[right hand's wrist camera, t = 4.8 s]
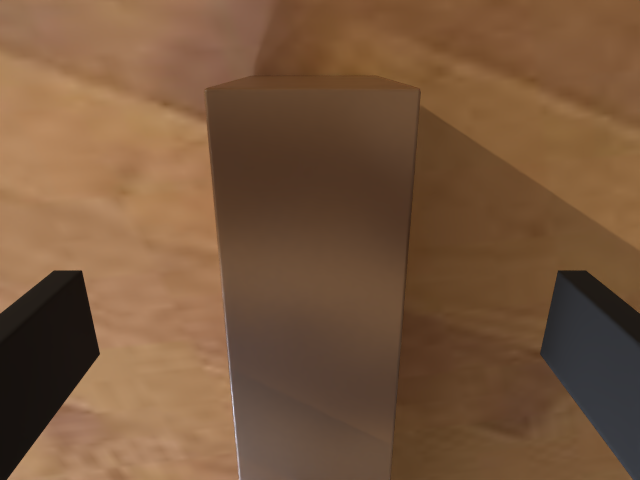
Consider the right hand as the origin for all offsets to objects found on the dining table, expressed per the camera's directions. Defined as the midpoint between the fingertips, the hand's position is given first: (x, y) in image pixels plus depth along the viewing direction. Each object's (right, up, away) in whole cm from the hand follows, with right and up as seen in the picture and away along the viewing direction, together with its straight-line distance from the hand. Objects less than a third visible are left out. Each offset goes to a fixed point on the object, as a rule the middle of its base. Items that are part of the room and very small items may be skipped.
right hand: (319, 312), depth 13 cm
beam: (0, -16, +13) cm, 21 cm away
